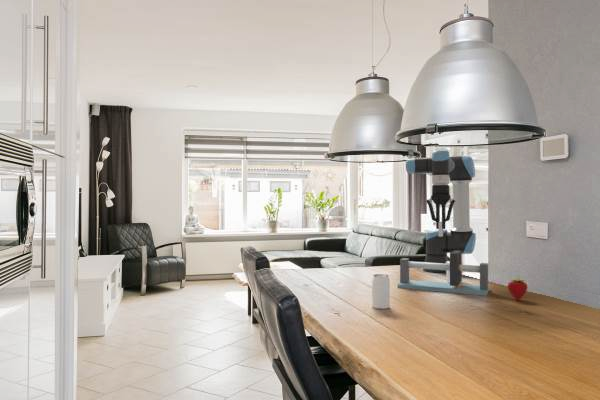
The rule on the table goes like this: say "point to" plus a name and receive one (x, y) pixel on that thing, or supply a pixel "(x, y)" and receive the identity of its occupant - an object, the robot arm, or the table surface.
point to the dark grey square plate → (455, 268)
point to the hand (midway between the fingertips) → (440, 236)
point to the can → (380, 291)
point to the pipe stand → (443, 287)
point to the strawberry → (517, 288)
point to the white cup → (449, 272)
